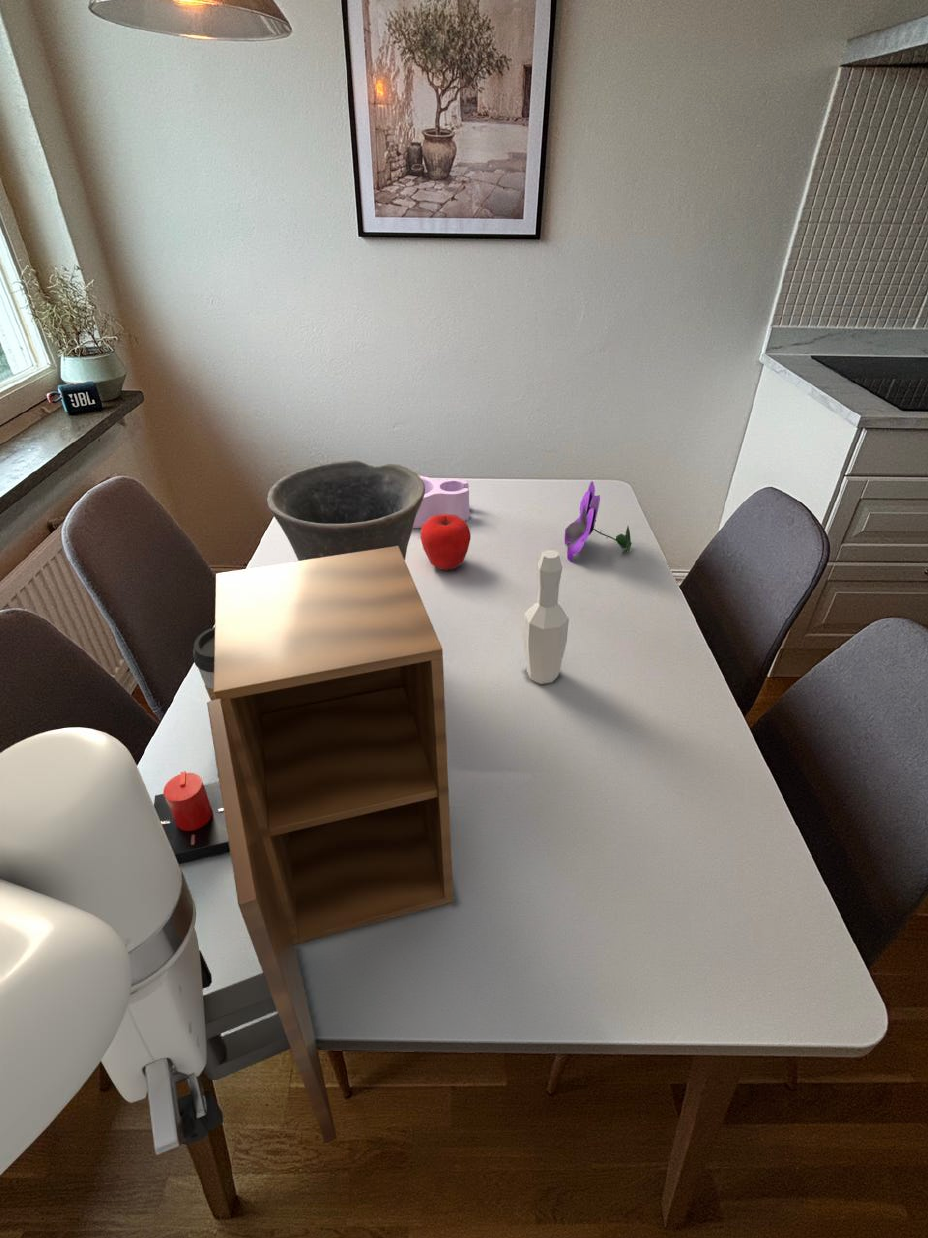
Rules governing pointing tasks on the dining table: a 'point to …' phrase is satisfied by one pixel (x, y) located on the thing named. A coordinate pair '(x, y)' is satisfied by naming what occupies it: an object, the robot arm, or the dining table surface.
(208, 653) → the coffee cup
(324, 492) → the vase
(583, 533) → the flower
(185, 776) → the valve knob
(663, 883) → the dining table surface
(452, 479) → the purple cup holder
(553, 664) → the faceted bottle
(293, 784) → the cupboard
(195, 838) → the valve panel
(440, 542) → the apple
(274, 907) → the cupboard door
